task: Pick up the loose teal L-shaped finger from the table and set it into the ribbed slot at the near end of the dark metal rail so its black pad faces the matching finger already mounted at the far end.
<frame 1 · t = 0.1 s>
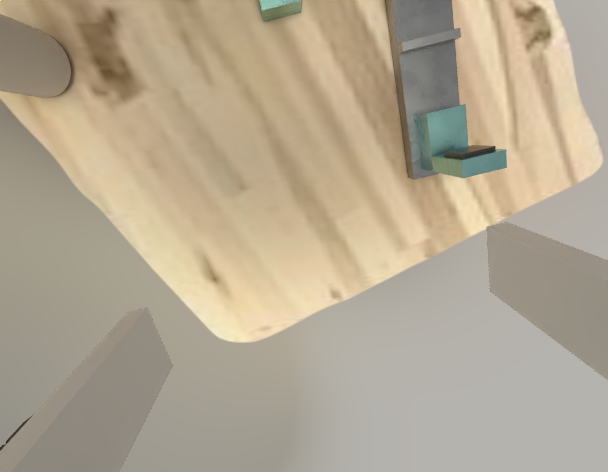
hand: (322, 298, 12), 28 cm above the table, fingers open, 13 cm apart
beverage can: (45, 66, 33), on the table
rail: (420, 66, 35), on the table
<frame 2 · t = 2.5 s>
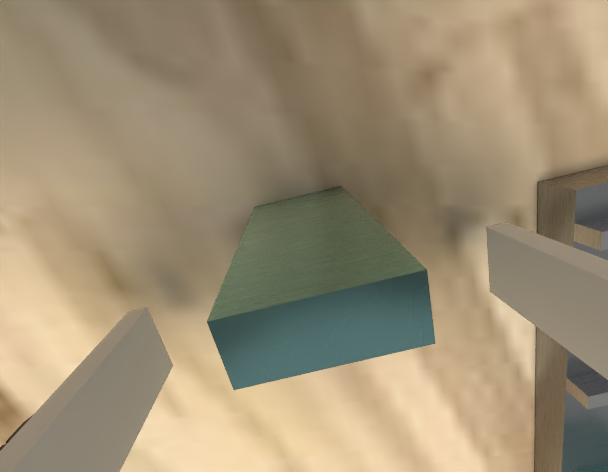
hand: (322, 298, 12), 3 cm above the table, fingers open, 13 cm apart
loose finger: (312, 256, 15), on the table
rail: (586, 370, 18), on the table
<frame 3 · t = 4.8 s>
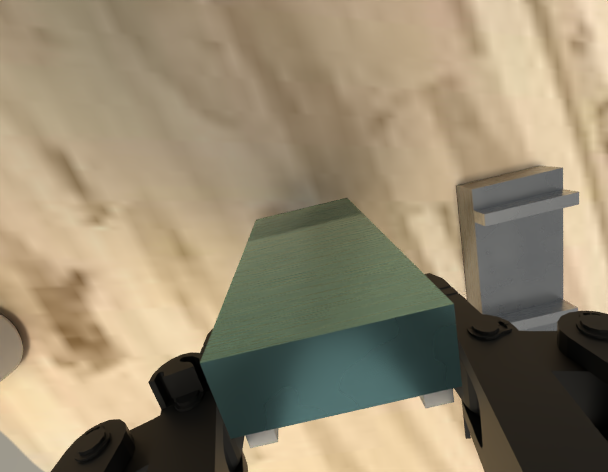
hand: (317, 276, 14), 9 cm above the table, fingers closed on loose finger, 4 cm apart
loose finger: (316, 271, 14), point 9 cm above the table, touching gripper
rail: (506, 320, 25), on the table
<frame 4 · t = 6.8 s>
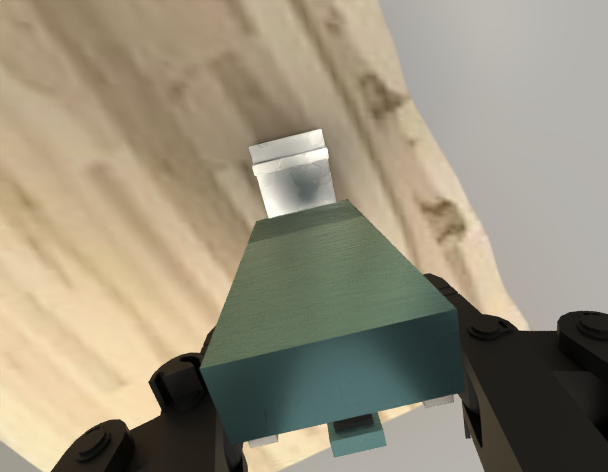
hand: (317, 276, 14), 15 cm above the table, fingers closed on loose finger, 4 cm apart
loose finger: (316, 272, 14), point 15 cm above the table, touching gripper
rail: (315, 263, 30), on the table
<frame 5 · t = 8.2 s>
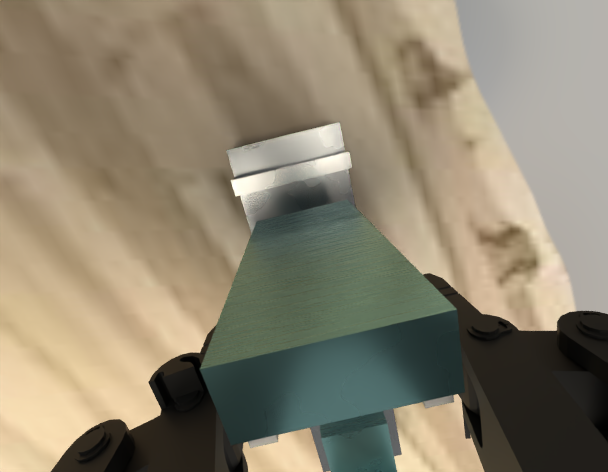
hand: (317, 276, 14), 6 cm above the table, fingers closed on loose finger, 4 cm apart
loose finger: (317, 273, 14), point 6 cm above the table, touching gripper
rail: (326, 313, 22), on the table
when the fingers open (4 cm above the table, at t = 9.4 s): loose finger drops 1 cm, resting on rail.
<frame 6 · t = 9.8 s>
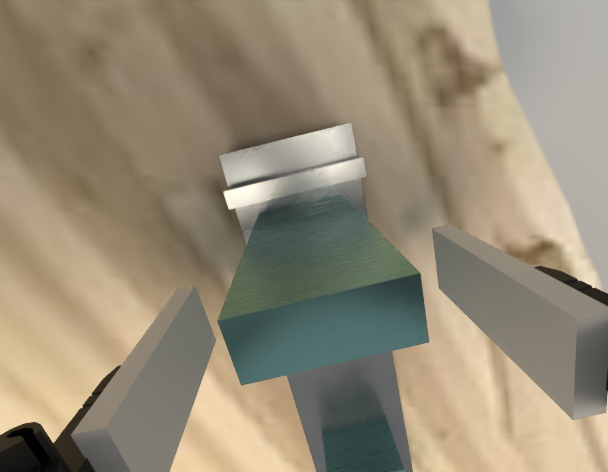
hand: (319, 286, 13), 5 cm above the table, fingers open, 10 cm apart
loose finger: (313, 261, 15), point 2 cm above the table, touching rail
rail: (332, 337, 19), on the table
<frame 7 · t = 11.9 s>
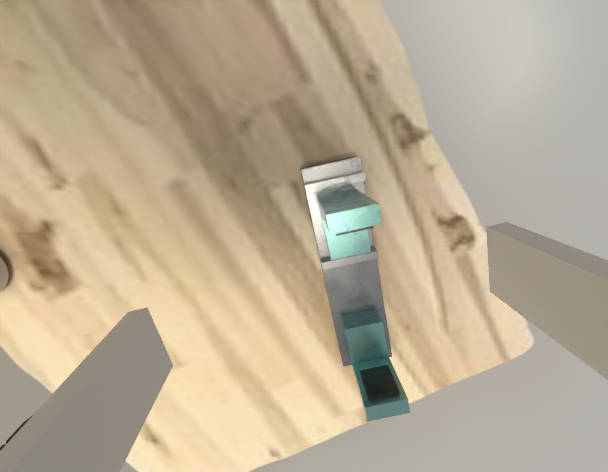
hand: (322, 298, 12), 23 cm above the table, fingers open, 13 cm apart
loose finger: (341, 220, 33), point 2 cm above the table, touching rail
rail: (347, 265, 36), on the table
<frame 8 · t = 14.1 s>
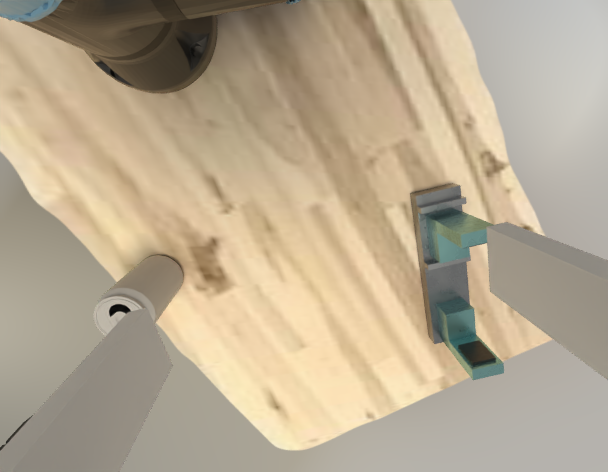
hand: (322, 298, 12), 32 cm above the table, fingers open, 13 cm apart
loose finger: (442, 232, 43), point 2 cm above the table, touching rail
beverage can: (163, 273, 45), on the table
rail: (439, 265, 47), on the table
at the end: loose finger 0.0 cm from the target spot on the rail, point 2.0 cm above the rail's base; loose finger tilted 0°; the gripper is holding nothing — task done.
